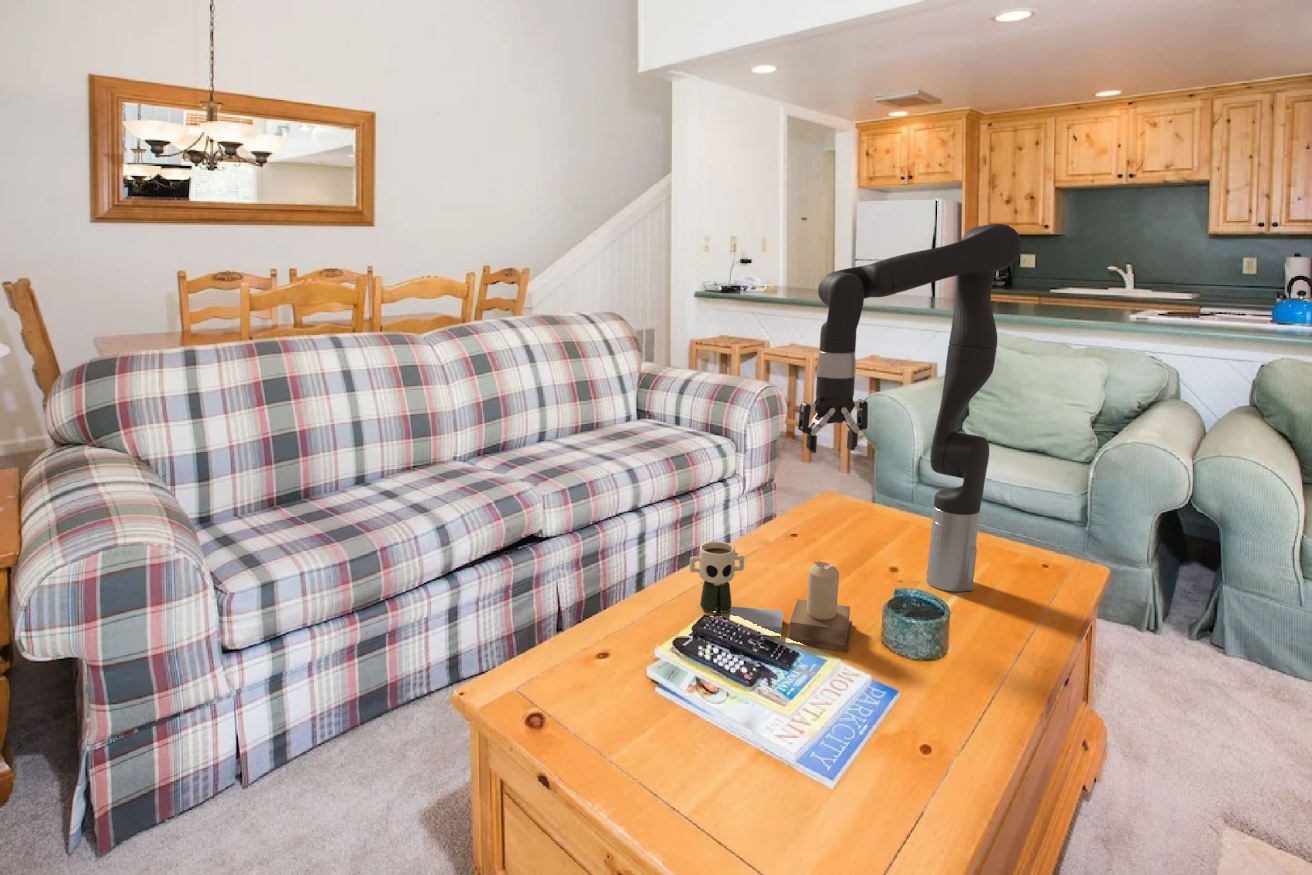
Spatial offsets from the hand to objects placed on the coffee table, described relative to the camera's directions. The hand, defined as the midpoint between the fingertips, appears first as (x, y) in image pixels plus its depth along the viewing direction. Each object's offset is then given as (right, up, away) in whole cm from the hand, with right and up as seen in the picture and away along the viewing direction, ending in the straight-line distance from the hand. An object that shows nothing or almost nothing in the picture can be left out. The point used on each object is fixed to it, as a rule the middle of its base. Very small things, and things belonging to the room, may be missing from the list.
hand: (831, 450), depth 166 cm
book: (-17, -33, -12) cm, 39 cm away
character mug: (-24, -32, -5) cm, 40 cm away
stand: (-5, -34, -15) cm, 38 cm away
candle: (-5, -30, -15) cm, 34 cm away
